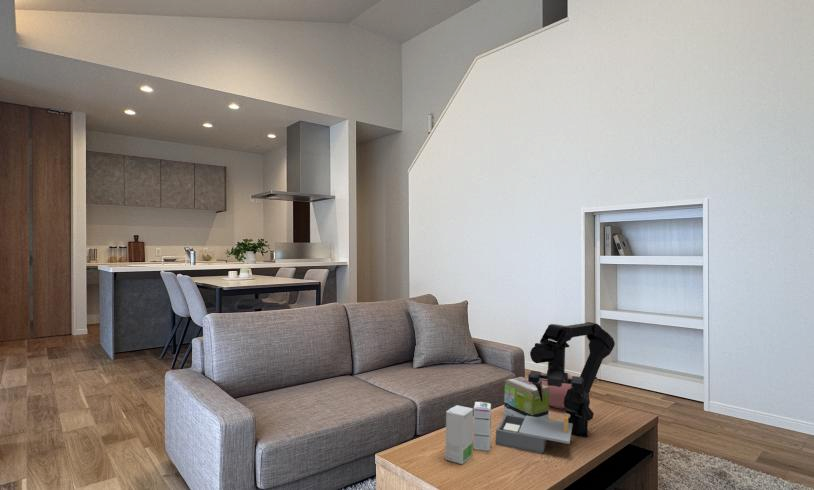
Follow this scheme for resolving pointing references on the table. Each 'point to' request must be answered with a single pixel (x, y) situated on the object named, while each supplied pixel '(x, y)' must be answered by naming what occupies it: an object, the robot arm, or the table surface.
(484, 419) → the syrup box
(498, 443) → the grey flat block
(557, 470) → the table surface
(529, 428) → the lid
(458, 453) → the skincare box
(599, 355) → the robot arm
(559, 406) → the balloon
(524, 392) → the tea box
